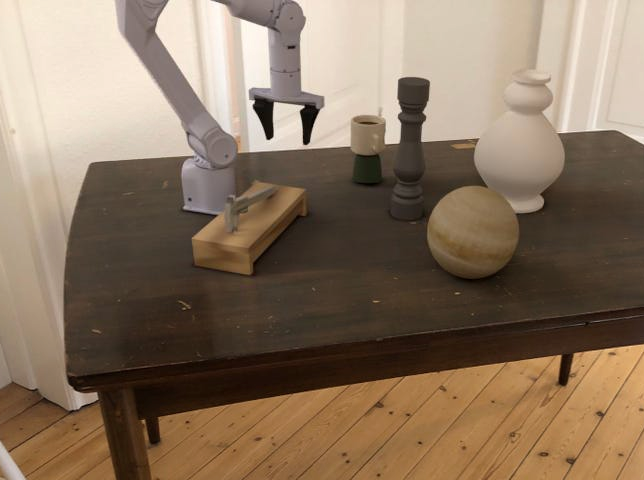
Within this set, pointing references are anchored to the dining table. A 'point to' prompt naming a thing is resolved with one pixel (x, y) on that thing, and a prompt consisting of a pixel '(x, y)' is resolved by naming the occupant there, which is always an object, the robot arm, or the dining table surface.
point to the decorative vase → (522, 144)
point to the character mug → (367, 147)
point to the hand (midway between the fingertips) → (288, 141)
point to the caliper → (243, 206)
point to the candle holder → (410, 149)
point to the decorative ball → (473, 232)
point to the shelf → (248, 230)
